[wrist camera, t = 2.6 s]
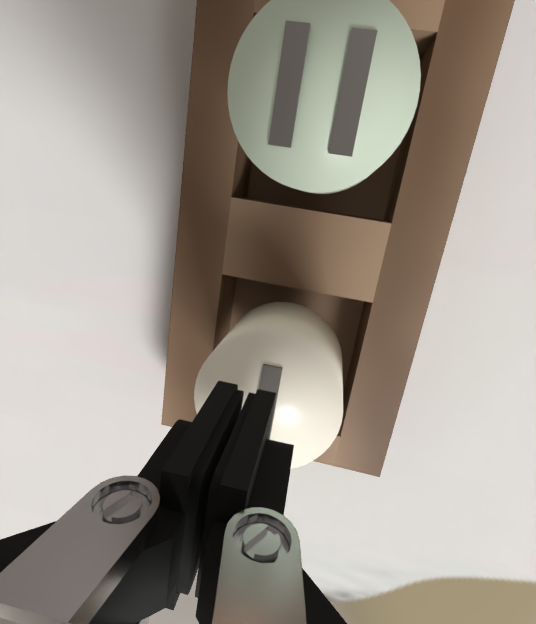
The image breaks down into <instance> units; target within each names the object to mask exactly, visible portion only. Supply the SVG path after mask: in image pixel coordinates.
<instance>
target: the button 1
mask: <svg viewBox="0 0 536 624" xmlns="http://www.w3.org/2000/svg"><path fill="white" fill-rule="evenodd" d="M218 381H223V382H228V383H233V384H237V385H238V390H241V391H244V396H243V402H242V407H243V405H244V403H245V400H246V398H247V396H248V394H249V392H250V393H255V394H256V391H257V389H261V390H265V391H270V392H275V393H276V399H275V405H274V411H273V416H272V422H271V427H270V433H269V439H270V440H274V441H278V442H283V443H287V444H292V445H294V449H293V456H292V462H291V469H293V468H297V467H300V466H303V465H305V464H308V463H310V462H311V461H313V460H315V459H316V458H318V457H319V456H320V455H322V454H323V453H324V452H325V451H326V450H327V449H328V448H329V447H330V445H331V444H332V443H333V441H334V440H335V438H336V436H337V434H338V432H339V429H340V426H341V423H342V417H343V374H342V352H341V346H340V343H339V340H338V338H337V335H336V334H335V332H334V330H333V329H332V327H331V326H330V325H329V323H328V322H327V321H326V320H325V319H324V318H323V317H322V316H320V315H319V314H318V313H316V312H315V311H313V310H311V309H309V308H307V307H305V306H302V305H299V304H296V303H290V302H272V303H267V304H263V305H261V306H258V307H256V308H254V309H252V310H251V311H249V312H248V313H246V314H245V315H244V316H243V317H242V318H241V319H240V320H239V321H238V322H237V323H236V324H235V326H234V327H233V328H232V329H231V330H230V332H229V333H228V334H227V335H226V336H225V338H224V339H223V340H222V341H221V342H220V344H219V345H218V346H217V347H216V348H215V350H214V351H213V352H212V353H211V354H210V355H209V357H208V358H207V359H206V361H205V362H204V364H203V365H202V367H201V369H200V371H199V373H198V376H197V379H196V383H195V389H194V402H195V409H196V413H197V414H198V412H199V410H200V409H201V407H202V406H203V404H204V402H205V401H206V399H207V398H208V396H209V395H210V393H211V391H212V390H213V388H214V387H215V385H216V383H217V382H218ZM241 410H242V409H241Z"/></svg>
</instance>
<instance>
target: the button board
mask: <svg viewBox="0 0 536 624" xmlns="http://www.w3.org/2000/svg"><path fill="white" fill-rule="evenodd" d="M269 1H271V0H197V7H196V19H195V31H194V43H193V55H192V67H191V79H190V91H189V102H188V114H187V126H186V138H185V150H184V162H183V174H182V186H181V198H180V210H179V222H178V233H177V245H176V257H175V269H174V281H173V293H172V305H171V317H170V329H169V341H168V353H167V364H166V376H165V388H164V400H163V412H162V425H166V426H170V427H173V425H174V424H175V422H176V421H177V420H179V419H181V420H186V421H190V422H192V421H193V420H194V418H195V417H196V415H197V413H196V409H195V402H194V389H195V383H196V379H197V376H198V373H199V371H200V369H201V367H202V365H203V364H204V362H205V361H206V359H207V358H208V357H209V355H210V354H211V353H212V352H213V351H214V350H215V348H216V347H217V346H218V345H219V344H220V342H221V341H222V340H223V339H224V338H225V336H226V335H227V334H228V333H229V332H230V330H231V329H232V328H233V327H234V326H235V324H236V323H237V322H238V321H239V320H240V319H241V318H242V317H243V316H244V315H245V314H246V313H248V312H249V311H251V310H252V309H254V308H256V307H258V306H261V305H263V304H267V303H272V302H290V303H296V304H299V305H302V306H305V307H307V308H309V309H311V310H313V311H315V312H316V313H318V314H319V315H320V316H322V317H323V318H324V319H325V320H326V321H327V322H328V323H329V325H330V326H331V327H332V329H333V330H334V332H335V334H336V335H337V338H338V340H339V343H340V346H341V352H342V374H343V417H342V423H341V426H340V429H339V432H338V434H337V436H336V438H335V440H334V441H333V443H332V444H331V445H330V447H329V448H328V449H327V450H326V451H325V452H324V453H323V454H322V455H320V456H319V457H318V458H316V459H315V460H313V461H316V462H320V463H324V464H328V465H332V466H336V467H340V468H345V469H349V470H353V471H357V472H361V473H365V474H370V475H374V476H378V477H380V474H381V470H382V467H383V463H384V460H385V456H386V453H387V449H388V446H389V442H390V439H391V435H392V431H393V428H394V424H395V421H396V417H397V414H398V410H399V407H400V403H401V400H402V396H403V393H404V389H405V386H406V382H407V379H408V375H409V371H410V368H411V364H412V361H413V357H414V354H415V350H416V347H417V343H418V340H419V336H420V333H421V329H422V326H423V322H424V319H425V315H426V312H427V308H428V304H429V301H430V297H431V294H432V290H433V287H434V283H435V280H436V276H437V273H438V269H439V266H440V262H441V259H442V255H443V252H444V248H445V245H446V241H447V237H448V234H449V230H450V227H451V223H452V220H453V216H454V213H455V209H456V206H457V202H458V199H459V195H460V192H461V188H462V185H463V181H464V177H465V174H466V170H467V167H468V163H469V160H470V156H471V153H472V149H473V146H474V142H475V139H476V135H477V132H478V128H479V125H480V121H481V118H482V114H483V110H484V107H485V103H486V100H487V96H488V93H489V89H490V86H491V82H492V79H493V75H494V72H495V68H496V65H497V61H498V58H499V54H500V51H501V47H502V43H503V40H504V36H505V33H506V29H507V26H508V22H509V19H510V15H511V12H512V8H513V5H514V1H515V0H390V1H391V2H392V3H393V4H394V5H395V7H396V8H397V9H398V10H399V11H400V13H401V14H402V16H403V17H404V18H405V20H406V22H407V24H408V26H409V27H410V29H411V31H412V34H413V37H414V39H415V42H416V45H417V49H418V54H419V59H420V71H421V80H420V92H419V98H418V104H417V107H416V110H415V114H414V117H413V120H412V122H411V124H410V127H409V129H408V131H407V133H406V135H405V136H404V138H403V140H402V141H401V143H400V144H399V146H398V147H397V148H396V150H395V151H394V152H393V154H392V155H391V156H390V157H389V158H388V159H387V160H386V161H385V162H384V163H383V164H382V165H381V166H380V167H379V168H378V169H376V170H375V171H374V172H373V173H372V174H370V175H369V176H368V177H367V178H366V179H364V180H363V181H362V182H360V183H358V184H357V185H355V186H353V187H351V188H349V189H347V190H343V191H340V192H336V193H331V194H314V193H309V192H305V191H301V190H298V189H294V188H291V187H288V186H286V185H283V184H281V183H279V182H277V181H275V180H273V179H272V178H270V177H269V176H267V175H266V174H265V173H263V172H262V171H261V170H260V169H259V168H258V167H257V166H256V165H255V164H254V163H253V162H252V161H251V160H250V158H249V157H248V156H247V155H246V153H245V152H244V150H243V148H242V147H241V145H240V143H239V141H238V139H237V137H236V134H235V132H234V129H233V126H232V123H231V119H230V114H229V108H228V95H227V92H228V78H229V72H230V66H231V62H232V59H233V55H234V52H235V50H236V47H237V45H238V43H239V40H240V38H241V36H242V35H243V33H244V31H245V29H246V27H247V26H248V25H249V23H250V22H251V21H252V19H253V18H254V16H255V15H256V14H257V13H258V12H259V11H260V10H261V9H262V8H263V7H264V6H265V5H266V4H267V3H268V2H269Z"/></svg>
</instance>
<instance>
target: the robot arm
mask: <svg viewBox="0 0 536 624" xmlns="http://www.w3.org/2000/svg"><path fill="white" fill-rule="evenodd" d="M243 396H244V391H241V390H238V385H237V384H233V383H228V382H223V381H218V382H217V383H216V385H215V387H214V388H213V390H212V391H211V393H210V395H209V396H208V398H207V399H206V401H205V402H204V404H203V406H202V407H201V409H200V410H199V412H198V414H197V415H196V417H195V418H194V420H193V421H192V422H190V421H186V420H181V419H179V420H177V421H176V422H175V424H174V425H173V427H172V428H171V429H170V431H169V432H168V434H167V435H166V437H165V438H164V439H163V441H162V442H161V444H160V445H159V446H158V448H157V449H156V451H155V452H154V454H153V455H152V456H151V458H150V459H149V461H148V462H147V463H146V465H145V466H144V468H143V469H142V471H141V472H140V473H139V475H138V476H119V477H114V478H110V479H108V480H106V481H103V482H101V483H100V484H98V485H97V486H95V487H94V488H93V489H91V490H90V491H89V492H88V493H87V494H86V495H85V496H84V497H83V498H82V499H80V500H79V501H78V502H77V503H76V504H75V505H74V506H73V507H72V508H71V509H69V510H68V511H67V512H66V513H65V514H64V515H63V516H62V517H61V518H60V519H59V520H57V521H55V522H52V523H49V524H46V525H43V526H40V527H37V528H34V529H31V530H28V531H25V532H22V533H19V534H16V535H13V536H10V537H7V538H4V539H1V540H0V624H148V622H149V616H151V615H153V614H154V613H156V612H158V611H160V610H162V609H164V608H168V609H171V610H174V607H175V605H176V602H177V600H178V597H179V595H180V593H183V594H187V595H188V594H189V592H190V589H191V587H192V584H193V581H194V578H195V575H196V573H197V570H198V567H199V570H198V576H197V585H196V591H195V597H197V598H198V604H197V610H196V618H197V620H198V622H199V624H347V623H346V622H345V621H344V619H343V618H342V617H341V616H340V614H339V613H338V612H337V611H336V609H335V608H334V607H333V606H332V604H331V603H330V602H329V601H328V599H327V598H326V597H325V596H324V594H323V593H322V592H321V591H320V589H319V588H318V587H317V586H316V584H315V583H314V582H313V581H312V580H311V578H310V577H309V576H308V575H307V573H306V572H305V571H304V570H303V568H302V563H301V551H300V540H299V537H298V533H297V530H296V529H295V527H294V526H293V524H292V523H291V522H290V521H289V520H288V519H287V518H286V517H285V516H284V508H285V502H286V495H287V488H288V482H289V475H290V469H291V462H292V456H293V449H294V445H292V444H287V443H283V442H278V441H274V440H270V439H269V433H270V427H271V422H272V416H273V411H274V405H275V399H276V393H275V392H270V391H265V390H261V389H257V391H256V394H255V393H250V392H249V394H248V396H247V398H246V400H245V403H244V405H243V407H242V402H243ZM241 409H242V410H241Z"/></svg>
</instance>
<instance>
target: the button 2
mask: <svg viewBox="0 0 536 624" xmlns="http://www.w3.org/2000/svg"><path fill="white" fill-rule="evenodd" d="M420 80H421V71H420V59H419V54H418V49H417V45H416V42H415V39H414V37H413V34H412V31H411V29H410V27H409V26H408V24H407V22H406V20H405V18H404V17H403V16H402V14H401V13H400V11H399V10H398V9H397V8H396V7H395V5H394V4H393V3H392V2H391V1H390V0H271V1H269V2H268V3H267V4H266V5H265V6H264V7H263V8H262V9H261V10H260V11H259V12H258V13H257V14H256V15H255V16H254V18H253V19H252V21H251V22H250V23H249V25H248V26H247V27H246V29H245V31H244V33H243V35H242V36H241V38H240V40H239V43H238V45H237V47H236V50H235V52H234V55H233V59H232V62H231V66H230V72H229V78H228V92H227V95H228V108H229V114H230V119H231V123H232V126H233V129H234V132H235V134H236V137H237V139H238V141H239V143H240V145H241V147H242V148H243V150H244V152H245V153H246V155H247V156H248V157H249V158H250V160H251V161H252V162H253V163H254V164H255V165H256V166H257V167H258V168H259V169H260V170H261V171H262V172H263V173H265V174H266V175H267V176H269V177H270V178H272V179H273V180H275V181H277V182H279V183H281V184H283V185H286V186H288V187H291V188H294V189H298V190H301V191H305V192H309V193H314V194H331V193H336V192H340V191H343V190H347V189H349V188H351V187H353V186H355V185H357V184H358V183H360V182H362V181H363V180H364V179H366V178H367V177H368V176H369V175H370V174H372V173H373V172H374V171H375V170H376V169H378V168H379V167H380V166H381V165H382V164H383V163H384V162H385V161H386V160H387V159H388V158H389V157H390V156H391V155H392V154H393V152H394V151H395V150H396V148H397V147H398V146H399V144H400V143H401V141H402V140H403V138H404V136H405V135H406V133H407V131H408V129H409V127H410V124H411V122H412V120H413V117H414V114H415V110H416V107H417V104H418V98H419V92H420Z"/></svg>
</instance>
